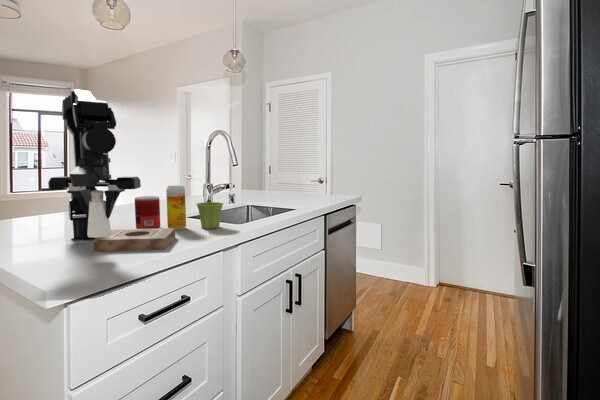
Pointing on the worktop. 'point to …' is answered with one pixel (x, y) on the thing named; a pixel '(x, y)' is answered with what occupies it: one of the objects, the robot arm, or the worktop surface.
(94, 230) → the salt shaker
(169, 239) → the board
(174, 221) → the yellow canister
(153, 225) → the canned food
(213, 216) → the plant pot
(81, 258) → the worktop surface
